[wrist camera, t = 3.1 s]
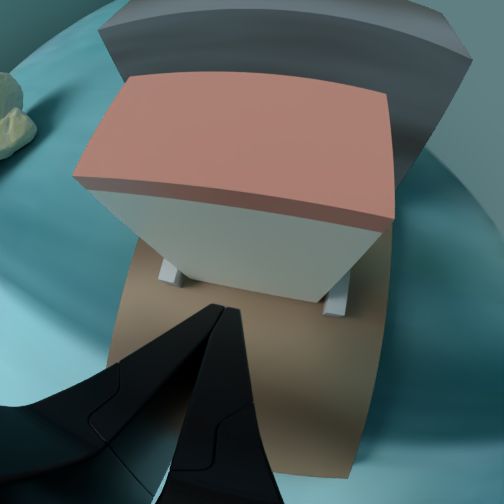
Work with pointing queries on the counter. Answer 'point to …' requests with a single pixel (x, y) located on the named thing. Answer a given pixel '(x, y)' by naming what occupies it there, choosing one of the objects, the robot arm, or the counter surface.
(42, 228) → the counter surface
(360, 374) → the wooden platform
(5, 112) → the cheese
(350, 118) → the pink-topped white block
